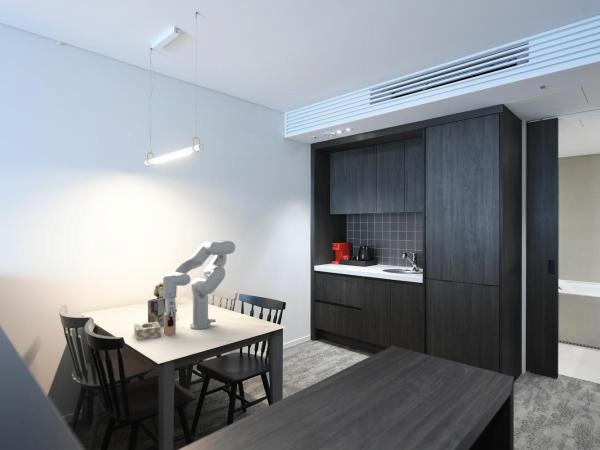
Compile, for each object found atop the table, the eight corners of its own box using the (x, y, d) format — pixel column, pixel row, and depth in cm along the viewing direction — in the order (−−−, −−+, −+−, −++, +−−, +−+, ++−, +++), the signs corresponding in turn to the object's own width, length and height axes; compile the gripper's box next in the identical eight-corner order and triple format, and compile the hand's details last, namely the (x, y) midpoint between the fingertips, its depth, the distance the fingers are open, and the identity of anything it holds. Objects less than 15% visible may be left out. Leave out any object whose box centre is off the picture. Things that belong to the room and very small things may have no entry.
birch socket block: (157, 330, 226) (157, 321, 226) (160, 336, 214) (160, 327, 214) (134, 333, 219) (134, 324, 219) (136, 339, 208) (136, 330, 208)
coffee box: (165, 324, 239) (165, 299, 239) (157, 326, 233) (157, 301, 233) (155, 322, 243) (155, 298, 243) (147, 325, 237) (147, 300, 237)
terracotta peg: (174, 332, 223) (174, 312, 222) (175, 334, 219) (175, 314, 219) (163, 333, 220) (163, 313, 219) (165, 335, 216) (165, 315, 216)
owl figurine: (148, 302, 300) (148, 282, 300) (162, 300, 308) (162, 280, 308) (157, 306, 287) (157, 284, 287) (172, 304, 296) (172, 283, 296)
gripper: (179, 297, 214) (179, 328, 214) (173, 291, 228) (173, 321, 228) (165, 298, 210) (165, 329, 210) (160, 293, 224) (160, 322, 225)
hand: (169, 324), depth 219 cm, fingers closed on terracotta peg, 4 cm apart
